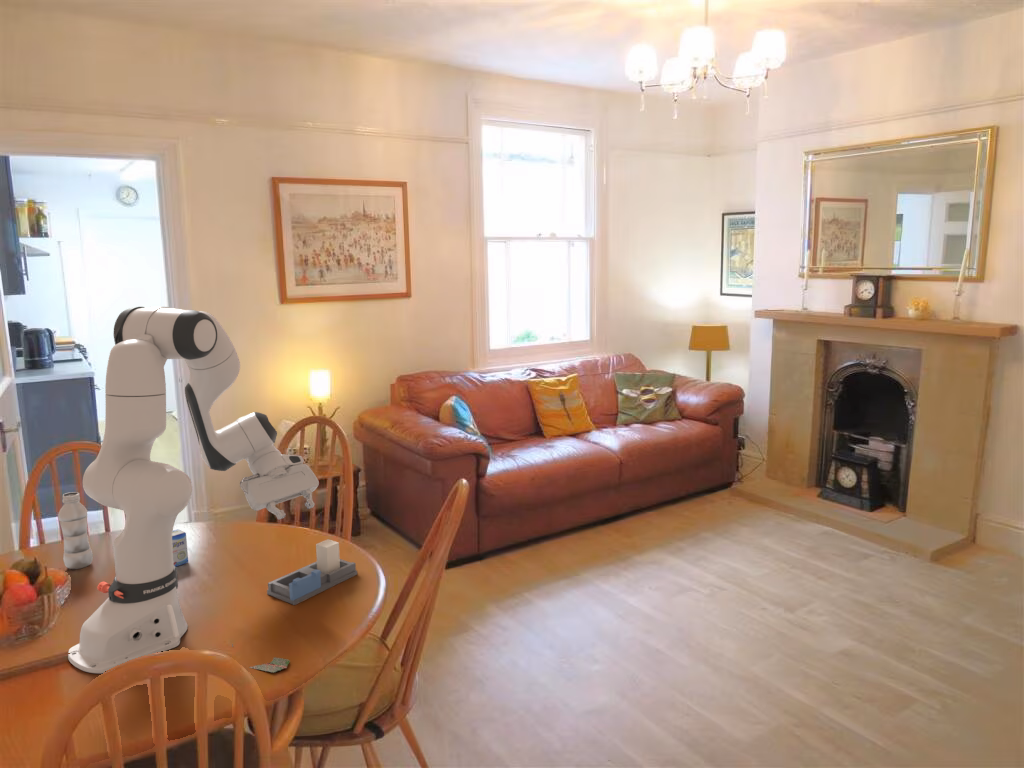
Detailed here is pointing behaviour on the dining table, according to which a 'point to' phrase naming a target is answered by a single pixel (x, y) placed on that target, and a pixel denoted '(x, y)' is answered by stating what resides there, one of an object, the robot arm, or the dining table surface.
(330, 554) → the white rectangular block
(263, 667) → the map
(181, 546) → the medicine box
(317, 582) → the two-compartment grey tray
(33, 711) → the dining table surface
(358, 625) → the dining table surface
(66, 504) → the plastic bottle
